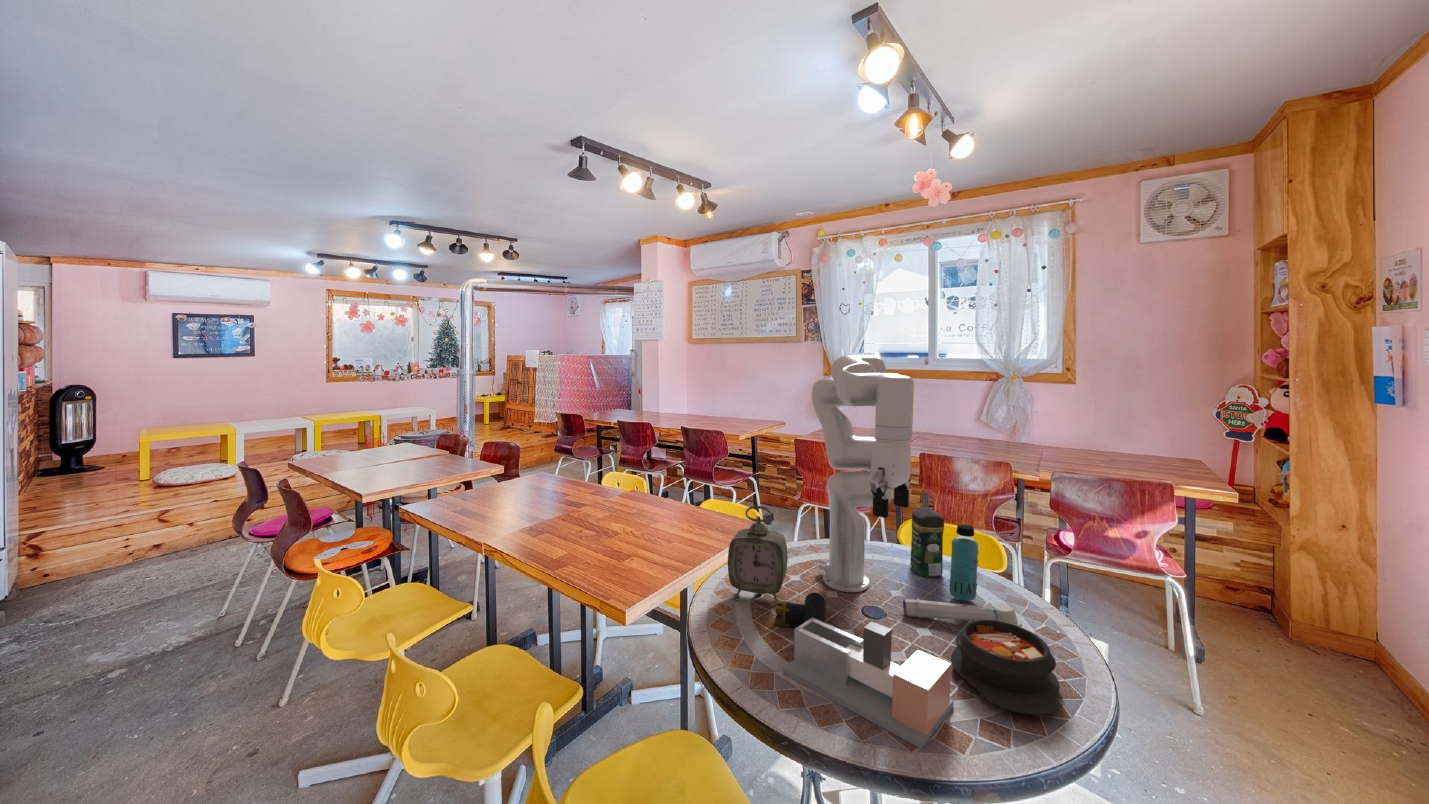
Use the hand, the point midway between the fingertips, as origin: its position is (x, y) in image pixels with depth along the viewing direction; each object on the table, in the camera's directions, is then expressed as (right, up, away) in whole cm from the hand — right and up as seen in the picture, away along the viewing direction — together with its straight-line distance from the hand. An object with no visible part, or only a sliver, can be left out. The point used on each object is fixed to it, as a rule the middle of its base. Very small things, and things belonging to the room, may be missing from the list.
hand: (890, 511), depth 109 cm
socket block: (-2, -31, -20) cm, 37 cm away
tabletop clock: (-27, -28, +24) cm, 46 cm away
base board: (-10, -31, -13) cm, 35 cm away
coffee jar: (+24, -27, +40) cm, 53 cm away
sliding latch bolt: (-7, -29, -16) cm, 34 cm away
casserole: (+19, -31, -10) cm, 38 cm away
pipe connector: (-18, -30, +11) cm, 36 cm away
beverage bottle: (+26, -28, +22) cm, 44 cm away
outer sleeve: (-15, -30, -7) cm, 34 cm away
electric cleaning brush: (+20, -30, +11) cm, 37 cm away
